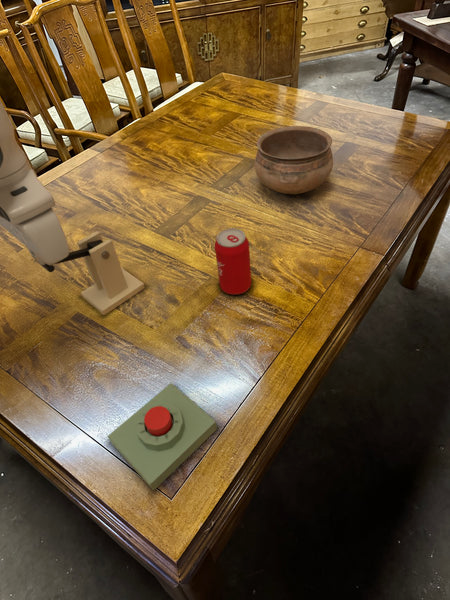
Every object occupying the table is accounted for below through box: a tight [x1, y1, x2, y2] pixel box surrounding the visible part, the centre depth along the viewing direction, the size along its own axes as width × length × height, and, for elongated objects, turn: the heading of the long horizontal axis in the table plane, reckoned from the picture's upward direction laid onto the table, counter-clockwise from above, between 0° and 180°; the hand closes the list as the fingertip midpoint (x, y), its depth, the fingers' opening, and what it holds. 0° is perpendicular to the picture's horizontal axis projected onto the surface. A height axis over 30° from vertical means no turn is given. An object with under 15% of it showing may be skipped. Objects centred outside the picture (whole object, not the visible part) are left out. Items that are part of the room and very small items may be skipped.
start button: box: [144, 406, 172, 436], centre depth 58 cm, size 4×4×2 cm
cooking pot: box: [254, 125, 334, 196], centre depth 103 cm, size 25×19×12 cm
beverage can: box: [214, 228, 252, 295], centre depth 78 cm, size 6×6×12 cm
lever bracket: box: [76, 230, 146, 316], centre depth 80 cm, size 10×8×13 cm
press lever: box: [37, 239, 104, 273], centre depth 74 cm, size 12×5×2 cm, turn 135°
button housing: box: [107, 382, 218, 492], centre depth 60 cm, size 12×10×4 cm
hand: (42, 260), depth 70 cm, fingers closed
